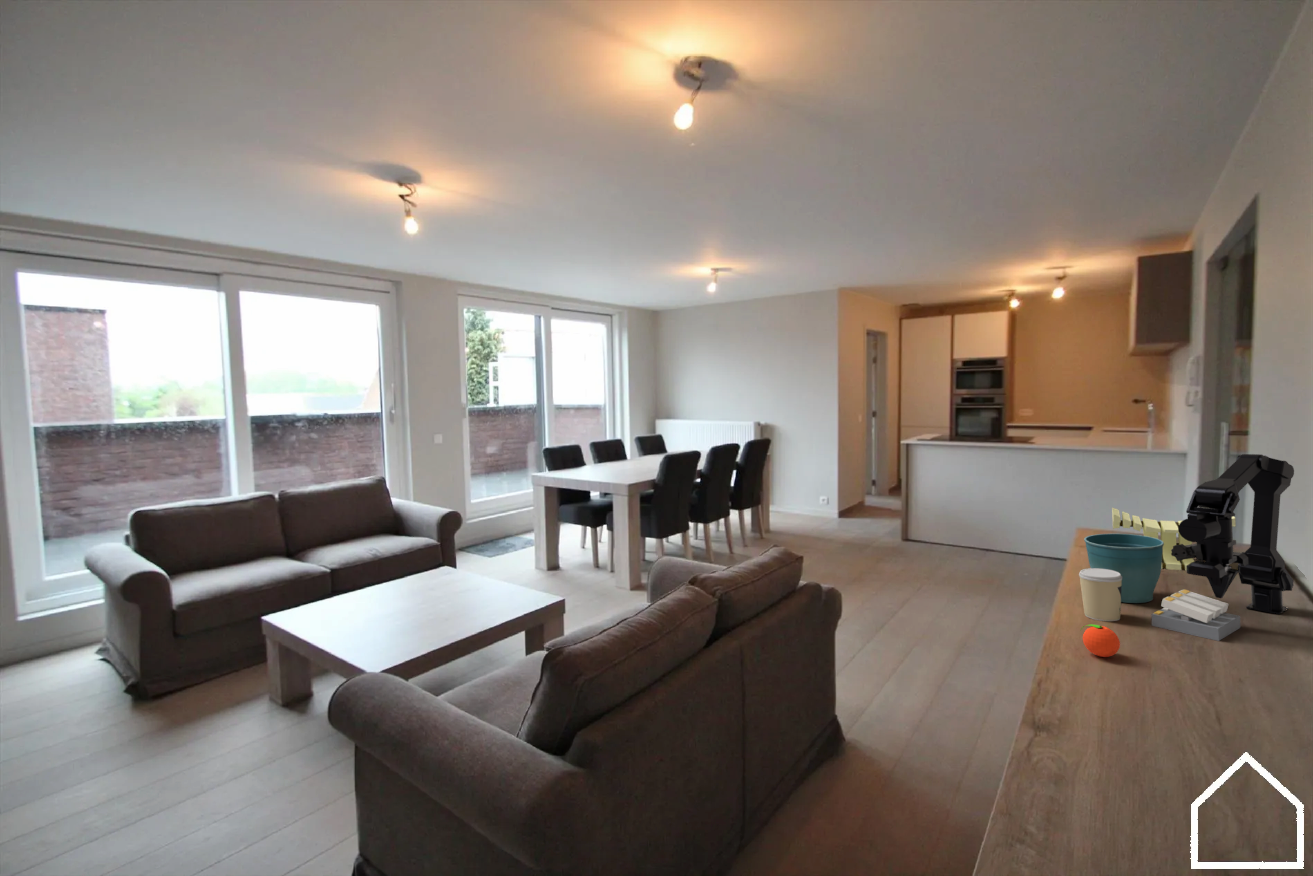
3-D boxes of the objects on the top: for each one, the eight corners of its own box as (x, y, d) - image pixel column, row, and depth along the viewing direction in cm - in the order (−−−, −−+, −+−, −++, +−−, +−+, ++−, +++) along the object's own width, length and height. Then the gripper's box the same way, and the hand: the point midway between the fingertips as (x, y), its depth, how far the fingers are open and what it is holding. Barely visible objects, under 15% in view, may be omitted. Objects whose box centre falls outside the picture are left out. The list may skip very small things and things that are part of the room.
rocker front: (1166, 603, 151) (1168, 595, 150) (1211, 620, 143) (1213, 612, 143) (1161, 606, 149) (1162, 598, 149) (1206, 623, 142) (1208, 614, 141)
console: (1174, 613, 157) (1174, 599, 157) (1240, 627, 146) (1239, 611, 146) (1151, 625, 151) (1151, 610, 151) (1218, 641, 140) (1218, 624, 139)
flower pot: (1097, 606, 167) (1094, 547, 166) (1079, 587, 183) (1076, 533, 183) (1177, 609, 160) (1175, 547, 159) (1151, 589, 177) (1148, 533, 176)
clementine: (1071, 652, 140) (1070, 623, 139) (1090, 645, 142) (1088, 617, 142) (1109, 664, 132) (1107, 633, 132) (1127, 657, 135) (1126, 627, 135)
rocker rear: (1182, 596, 155) (1183, 588, 155) (1226, 611, 147) (1228, 603, 147) (1176, 598, 154) (1178, 591, 153) (1222, 613, 146) (1223, 605, 145)
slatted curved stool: (1227, 561, 196) (1225, 508, 196) (1237, 574, 184) (1235, 517, 183) (1114, 554, 214) (1111, 505, 214) (1115, 565, 201) (1113, 514, 201)
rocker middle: (1174, 599, 153) (1176, 592, 152) (1219, 615, 145) (1221, 607, 145) (1169, 602, 151) (1170, 594, 151) (1214, 618, 144) (1216, 610, 143)
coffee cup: (1131, 622, 154) (1129, 577, 153) (1091, 622, 156) (1089, 578, 155) (1112, 610, 163) (1110, 567, 162) (1074, 610, 165) (1072, 568, 164)
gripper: (1191, 526, 158) (1193, 583, 159) (1159, 537, 149) (1162, 598, 150) (1248, 531, 148) (1250, 592, 149) (1217, 544, 139) (1219, 609, 140)
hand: (1219, 597), depth 147 cm, fingers closed
